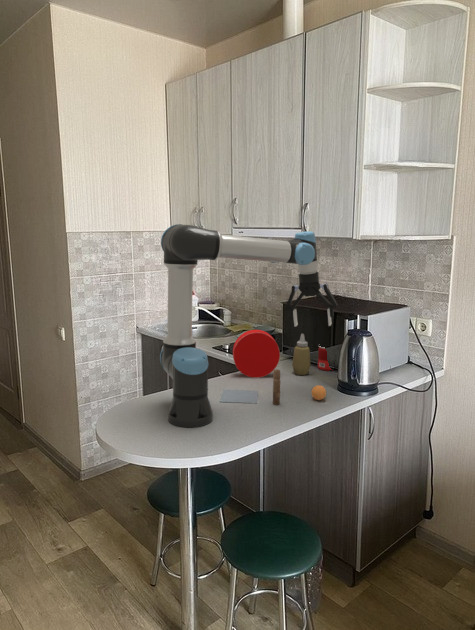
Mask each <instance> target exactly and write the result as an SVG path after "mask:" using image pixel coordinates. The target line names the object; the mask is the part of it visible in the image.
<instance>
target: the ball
mask: <svg viewBox="0 0 475 630" xmlns="http://www.w3.org/2000/svg"><path fill="white" fill-rule="evenodd" d="M311 396H312V398H313V399H315V400H318V401H321V400H323V399H325V398H326V396H327V391H326V388H325V387H324V386H322V385H319V384H318V385H315V386H314V387H313V388H312V389H311Z"/></svg>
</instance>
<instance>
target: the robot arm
mask: <svg viewBox="0 0 475 630" xmlns="http://www.w3.org/2000/svg"><path fill="white" fill-rule="evenodd" d="M160 246H161V249H162V251H163V265H164V266H166V268H167V271H168V272H167V336H166V337H164V339H163V340H162V349H161V351H160V353H159V354H160V355H159V361H160V365H161V367H162V369H163V371H165V372H166V374H167V375H168V376H169V377H170V378H171V379H172V399H171V403H170V406H169V408H168V412H167V421H168V422H169V423H170V424H171V425H174V426H176V427H182V428H199V427H202V426H203V427H204V426H206V425H208V424H210V423H211V422H212V421H213V419H214V416H213V415H214V413H213V411H214V410H213V409H212V406H211V402H210V399H209V395H208V394H209V392H208V390H209V384H208V383H209V360H208V355H207V353H206V351H204V350H203V349H200V348H197V346H196V345H197V340H196V339H195V338H194V337H193V334H192V333H193V332H192V331H193V330H192V329H193V328H192V326H193V292H194V291H193V288H194V281H193V280H194V269H195V268H196V267H197V266H198V261H202V260H203V261H204V260H209V261H217V259H218V258H223V259H235V260H236V259H237V260H245V261H246V260H247V261H248V260H249V261H258V262H260V261H261V262H270V263H271V264H276V263H277V264H279V263H285V264H295V265H297V271H298V282H299V283H298V284H299V285H296V284H293V285H292V286H291V292H290V294H289V297H288V300H287V302H286V305H285V310H289V311H290V318H291V319H293V324H294V327H297V326H298V325H299V323H298V314H297V313H298V312H297V308H296V307H297V305H298V304H299V303H300V302H301V300H302V298H303V297H304V296H305V297H315V296H316V297H317V298H318V299H319V300H320V301H321V302H322V303H323V304H324V305H325V306H326V307H327V311H326V312H327V323H328V324H327V325H328V327H331V326H332V324H333V323H332V318H333V317H334V309H335V308H337V307H338V302H337V300H336V299H335V297H334V295H333V293H332V292H331V291H330V289H329V285H328V283H327V282H325V283H322V284H320V277H319V271H318V270H319V265H318V256H317V240H316V235H315V232H313V231H310V230H309V231H299V232H296V233H295V234H294V238H293V239H287V240H278V239H270V238H269V239H268V238H259V237H250V236H240V235H231V234H221V233H220V232H219V230H212V229H207V228H203V227H199V226H196V225H192V224H180V223H179V224H173V225H171V226H169V227H167V228H166V229H165V230H164V232H163V233H162V235H161V238H160ZM320 289H322V291H323V290H324V293H325V294H326V296H327V298H328V299H327V298H326V296H324V294H322V292H321V291H320ZM298 290H299V291H300V292H301V293H300V294H299V296H298V297H297V298H296V300H295V301H294V302H293V300H294V297H295V294H296V292H297V291H298ZM292 303H293V304H292Z"/></svg>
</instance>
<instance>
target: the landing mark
mask: <svg viewBox="0 0 475 630" xmlns="http://www.w3.org/2000/svg"><path fill="white" fill-rule="evenodd" d="M259 392H260V391H259V390H254V389H253V390H252V389H251V390H249V389H227V388H224V389H223V390H222V393H221V395H220V400H219V403H233V404H234V403H235V404H255V405H256V404H258V399H259Z"/></svg>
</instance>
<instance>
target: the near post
mask: <svg viewBox="0 0 475 630" xmlns="http://www.w3.org/2000/svg"><path fill="white" fill-rule="evenodd" d="M272 384H273V385H272V405H274V406H280V405H281V404H280V403H281V379H280V380H279V379H275V380H273V381H272Z"/></svg>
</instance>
